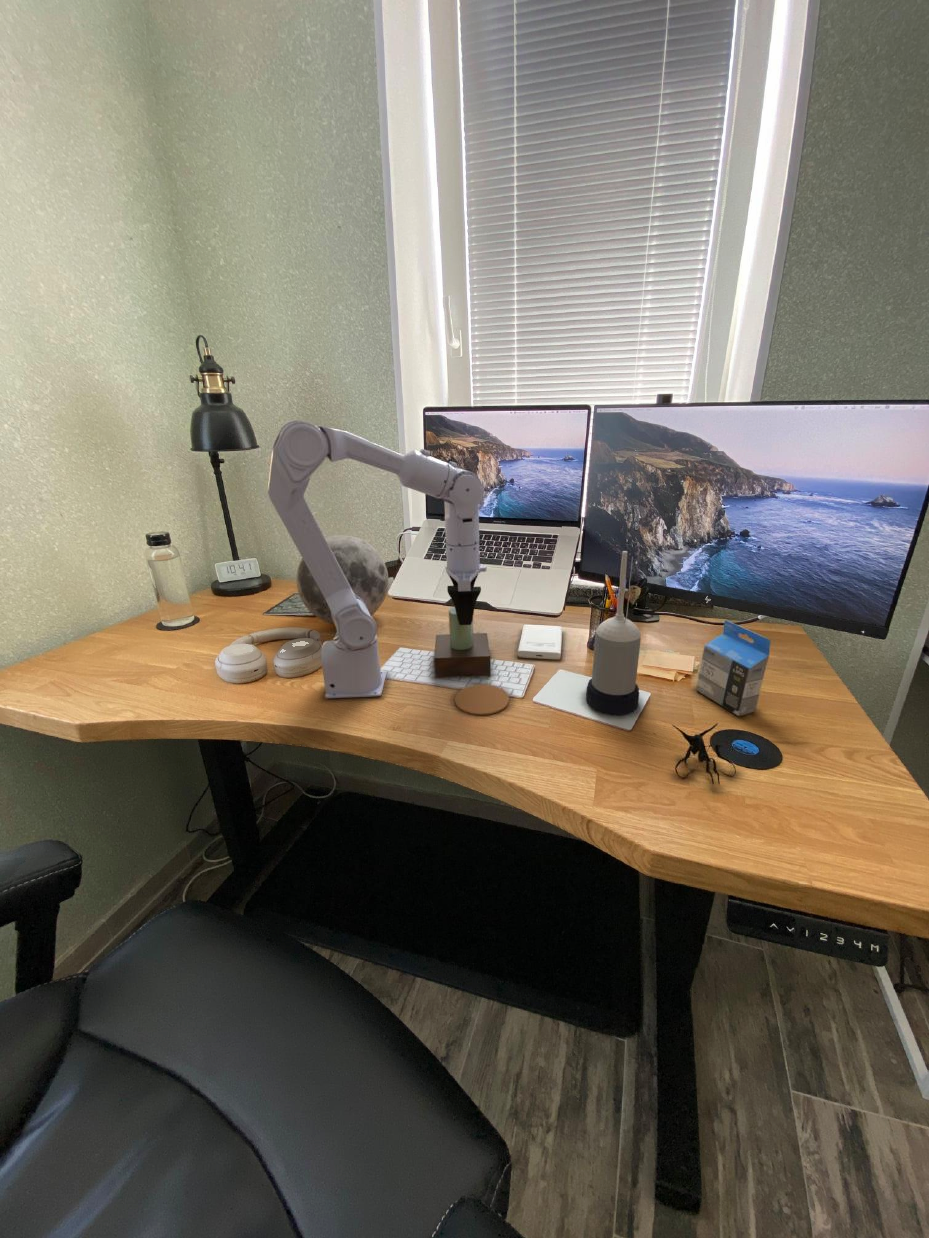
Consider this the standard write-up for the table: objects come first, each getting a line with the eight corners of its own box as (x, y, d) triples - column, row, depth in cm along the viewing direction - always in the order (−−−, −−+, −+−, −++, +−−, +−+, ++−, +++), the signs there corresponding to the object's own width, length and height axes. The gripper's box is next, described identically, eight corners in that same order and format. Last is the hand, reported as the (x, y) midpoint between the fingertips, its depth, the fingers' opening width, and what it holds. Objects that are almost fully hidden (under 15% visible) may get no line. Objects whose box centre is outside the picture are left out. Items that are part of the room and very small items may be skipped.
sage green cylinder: (450, 650, 92) (448, 615, 89) (450, 640, 96) (448, 606, 93) (474, 649, 92) (473, 614, 89) (473, 639, 96) (472, 605, 93)
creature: (743, 791, 64) (715, 742, 70) (756, 764, 61) (726, 715, 67) (682, 794, 64) (659, 745, 70) (692, 767, 60) (667, 718, 67)
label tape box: (694, 690, 84) (705, 622, 79) (713, 685, 86) (725, 618, 81) (737, 717, 77) (753, 644, 72) (757, 711, 78) (774, 639, 73)
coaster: (454, 716, 79) (454, 714, 79) (454, 687, 88) (454, 685, 88) (511, 714, 79) (511, 712, 79) (506, 685, 88) (506, 683, 88)
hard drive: (562, 633, 107) (560, 660, 96) (523, 631, 109) (517, 657, 97) (562, 626, 106) (560, 652, 95) (523, 624, 108) (517, 649, 97)
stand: (435, 677, 91) (434, 658, 89) (437, 652, 100) (435, 634, 99) (490, 675, 91) (490, 656, 89) (487, 651, 100) (486, 632, 99)
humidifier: (616, 684, 87) (630, 542, 77) (649, 708, 80) (668, 555, 70) (576, 694, 84) (585, 549, 74) (605, 720, 77) (619, 563, 67)
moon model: (303, 612, 123) (289, 531, 115) (384, 601, 128) (377, 523, 120) (304, 645, 105) (288, 552, 97) (399, 631, 110) (391, 542, 103)
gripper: (488, 552, 79) (489, 631, 84) (483, 531, 93) (484, 600, 98) (443, 554, 79) (447, 632, 84) (445, 533, 93) (448, 602, 98)
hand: (464, 615), depth 91 cm, fingers open, 7 cm apart
